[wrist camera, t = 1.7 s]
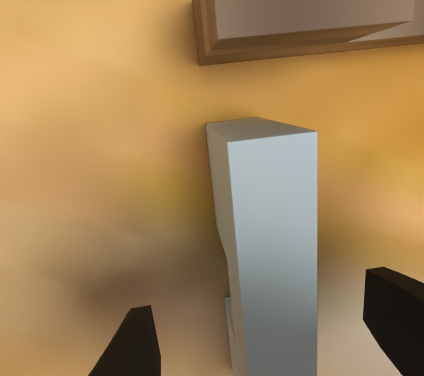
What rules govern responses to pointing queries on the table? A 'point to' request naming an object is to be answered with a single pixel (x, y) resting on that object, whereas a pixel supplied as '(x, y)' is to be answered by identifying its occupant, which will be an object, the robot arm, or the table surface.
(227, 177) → the pale blue-gray block
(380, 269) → the robot arm
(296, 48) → the walnut u-shaped block
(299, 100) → the table surface
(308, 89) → the table surface
